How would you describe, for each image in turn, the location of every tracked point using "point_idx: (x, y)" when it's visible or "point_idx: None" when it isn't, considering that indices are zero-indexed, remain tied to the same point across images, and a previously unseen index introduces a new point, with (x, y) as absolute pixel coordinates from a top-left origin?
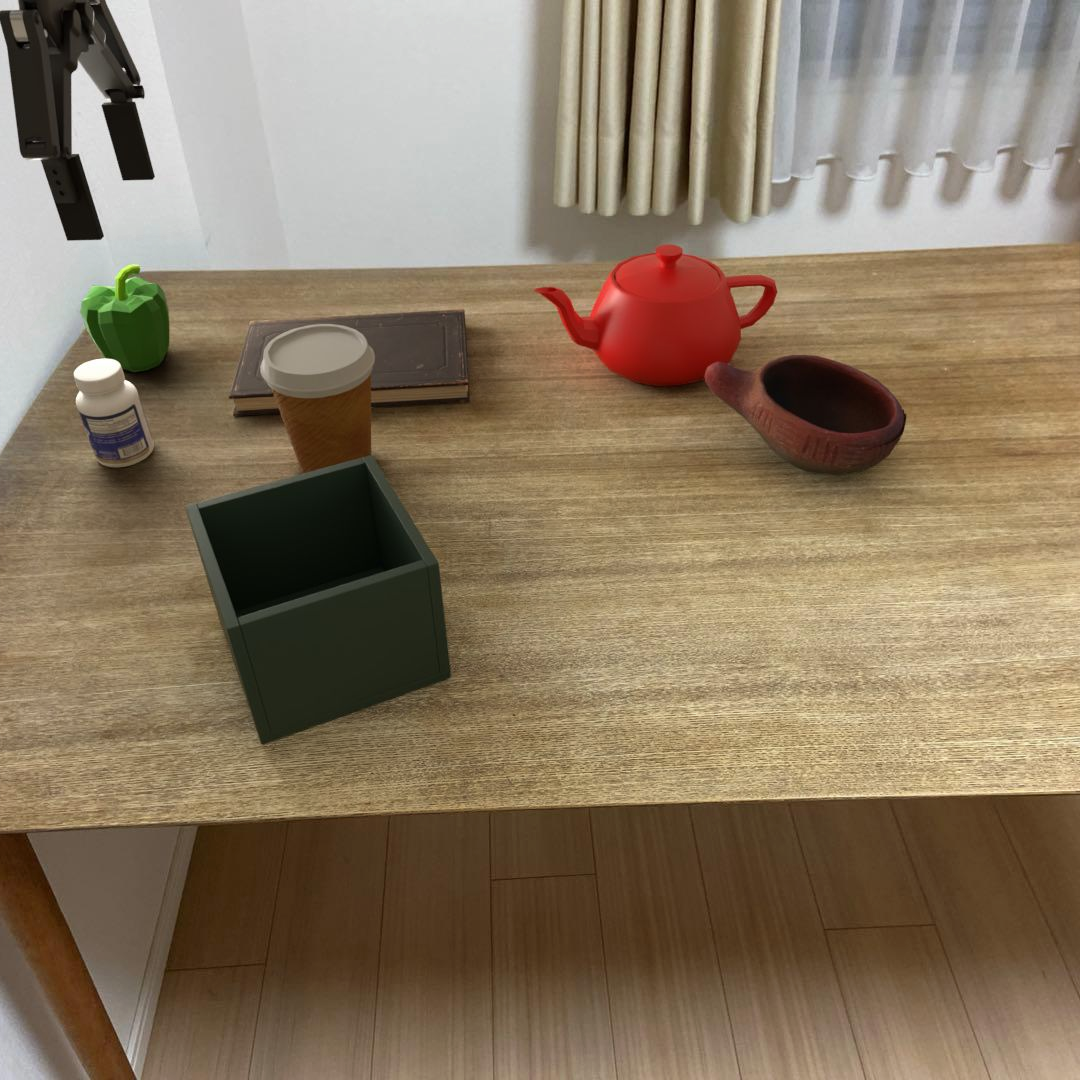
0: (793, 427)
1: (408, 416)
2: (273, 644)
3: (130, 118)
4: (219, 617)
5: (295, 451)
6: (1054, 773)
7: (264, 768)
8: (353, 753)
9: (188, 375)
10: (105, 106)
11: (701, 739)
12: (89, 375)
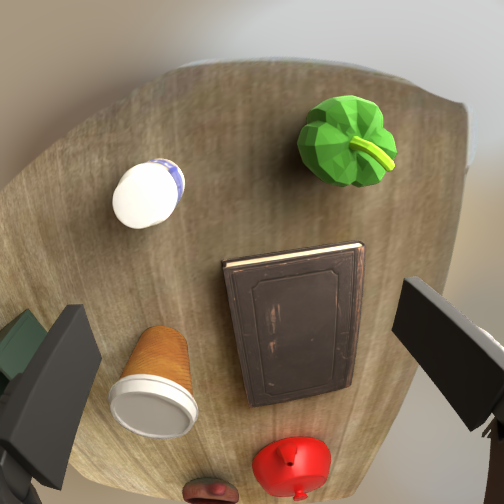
0: (187, 495)
1: (229, 372)
2: None
3: (461, 400)
4: (12, 323)
5: (140, 342)
6: (88, 478)
7: None
8: None
9: (296, 195)
10: (502, 379)
11: None
12: (124, 199)
